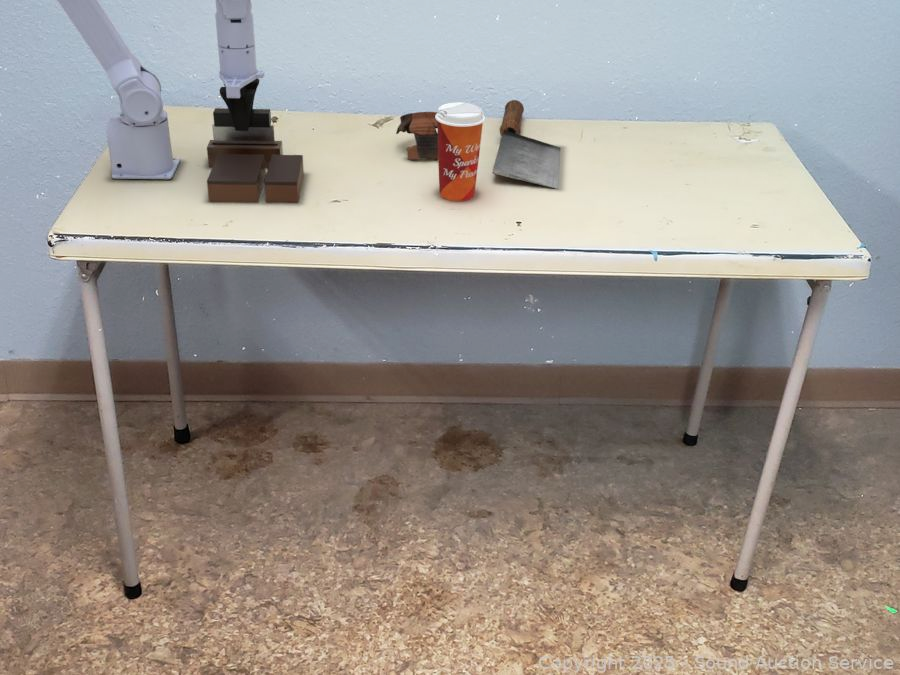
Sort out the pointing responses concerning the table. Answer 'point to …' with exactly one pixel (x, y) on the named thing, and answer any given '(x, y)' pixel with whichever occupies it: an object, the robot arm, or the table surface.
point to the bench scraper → (256, 134)
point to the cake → (236, 178)
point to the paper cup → (458, 149)
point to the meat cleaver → (525, 152)
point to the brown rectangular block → (284, 178)
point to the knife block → (243, 151)
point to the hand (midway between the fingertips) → (243, 127)
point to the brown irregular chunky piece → (421, 134)
